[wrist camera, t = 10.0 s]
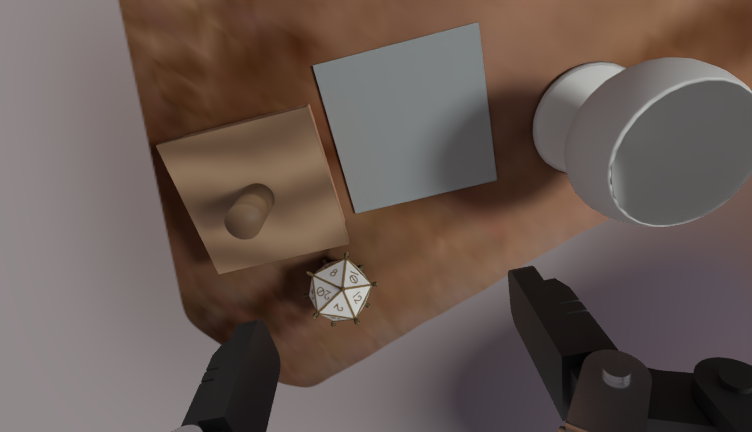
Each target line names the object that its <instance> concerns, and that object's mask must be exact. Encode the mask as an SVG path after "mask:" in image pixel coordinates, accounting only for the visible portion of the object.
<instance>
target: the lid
mask: <svg viewBox="0 0 752 432" xmlns="http://www.w3.org/2000/svg"><path fill="white" fill-rule="evenodd" d="M156 147H157V149H158V151H159V153H160V155H161V157H162V159H163V161H164V164H165V166H166V168H167V170H168V172H169V174H170V176H171V178H172V180H173V182H174V184H175V186H176V188H177V190H178V192H179V194H180V196H181V198H182V200H183V202H184V204H185V206H186V209H187V211H188V213H189V215H190V217H191V219H192V221H193V223H194V225H195V227H196V229H197V231H198V233H199V235H200V237H201V239H202V241H203V243H204V245H205V247H206V249H207V251H208V254H209V256H210V258H211V260H212V262H213V264H214V266H215V268H216V270H217V272H218V274H222V273H226V272H230V271H235V270H239V269H243V268H248V267H252V266H256V265H261V264H265V263H269V262H274V261H278V260H282V259H287V258H291V257H295V256H300V255H304V254H308V253H312V252H317V251H321V250H325V249H330V248H334V247H338V246H343V245H347V244H349V237H348V233H347V230H346V227H345V224H344V220H343V217H342V214H341V211H340V207H339V204H338V201H337V198H336V194H335V191H334V188H333V185H332V181H331V178H330V175H329V172H328V168H327V165H326V162H325V159H324V155H323V152H322V149H321V146H320V142H319V139H318V136H317V133H316V129H315V126H314V123H313V120H312V116H311V113H310V110H309V107H308V105H306V106H302V107H298V108H294V109H290V110H287V111H283V112H279V113H275V114H271V115H267V116H263V117H259V118H255V119H252V120H248V121H244V122H240V123H236V124H232V125H228V126H224V127H220V128H217V129H213V130H209V131H205V132H201V133H197V134H193V135H189V136H185V137H182V138H178V139H174V140H170V141H166V142H162V143H159V144H158V145H156Z"/></svg>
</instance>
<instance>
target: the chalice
mask: <svg viewBox="0 0 752 432" xmlns="http://www.w3.org/2000/svg"><path fill="white" fill-rule="evenodd" d="M533 139H534V144H535V147H536V149H537V151H538V153H539V155H540V156H541V157H542V159H543V160H544V161H545V162H546V163H547V164H549V165H550V166H551V167H553V168H554V169H557V170H560V171H563V172H567V175H568V179H569V181H570V183H571V185H572V187H573V189H574V191H575V193H576V194H577V195H578V196H579V197H580V198H581V199H582V200H583V201H584V202H585V203H586V204H587V205H588V206H590V207H591V208H592V209H594V210H596V211H598V212H600V213H601V214H603V215H605V216H607V217H609V218H612V219H615V220H618V221H622V222H625V223H629V224H633V225H638V226H656V227H667V226H672V225H678V224H683V223H687V222H690V221H693V220H695V219H698V218H700V217H703V216H705V215H706V214H708V213H710V212H711V211H713V210H715V209H717V208H719V207H720V206H721V205H722V204H724V203H725V202H726V201H727V200H728V199H730V198H731V197H732V196H733V195H734V194H735V193H736V192H737V191H738V190H739V189H740V188H741V187H742V186H743V185H744V184H745V182H746V181H747V179H748V178H749V176H750V175H751V173H752V91H751V90H750V89H749V88H748V87H747V85H745V84H744V83H743V82H741V81H740V80H739V79H737V78H736V77H734V76H733V75H732V74H730V73H729V72H727V71H726V70H723V69H721V68H719V67H716V66H713V65H711V64H708V63H705V62H702V61H699V60H695V59H691V58H670V57H665V58H659V59H653V60H647V61H644V62H641V63H639V64H636V65H634V66H631V67H629V68H625V67H623V66H620V65H618V64H616V63H613V62H604V61H598V62H590V63H586V64H583V65H580V66H577V67H575V68H573V69H571V70H570V71H568V72H566V73H565V74H563V75H562V76H561V77H559V78H558V79H557V80H556V81H555V82H554V83H553V84H552V85H551V86H550V87H549V89H548V90H547V91H546V92H545V94H544V95H543V97H542V99H541V101H540V103H539V105H538V107H537V109H536V112H535V116H534V120H533Z"/></svg>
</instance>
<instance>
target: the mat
mask: <svg viewBox="0 0 752 432" xmlns="http://www.w3.org/2000/svg"><path fill="white" fill-rule="evenodd" d="M313 69H314V72H315V75H316V79H317V82H318V86H319V89H320V93H321V96H322V100H323V103H324V106H325V110H326V113H327V117H328V120H329V124H330V127H331V131H332V134H333V137H334V141H335V144H336V148H337V151H338V155H339V158H340V162H341V165H342V169H343V172H344V175H345V179H346V182H347V186H348V189H349V193H350V196H351V200H352V203H353V206H354V210H355V213H360V212H365V211H369V210H373V209H377V208H382V207H386V206H390V205H394V204H399V203H403V202H407V201H411V200H416V199H420V198H424V197H428V196H433V195H437V194H441V193H445V192H450V191H454V190H458V189H462V188H467V187H471V186H475V185H479V184H483V183H488V182H492V181H496V180H497V175H496V167H495V158H494V150H493V141H492V133H491V124H490V115H489V107H488V98H487V90H486V81H485V73H484V64H483V56H482V47H481V39H480V30H479V22H477V23H473V24H469V25H465V26H461V27H458V28H454V29H450V30H446V31H442V32H439V33H435V34H431V35H427V36H423V37H420V38H416V39H412V40H408V41H404V42H401V43H397V44H393V45H389V46H385V47H382V48H378V49H374V50H370V51H366V52H363V53H359V54H355V55H351V56H347V57H344V58H340V59H336V60H332V61H328V62H325V63H321V64H317V65H313Z"/></svg>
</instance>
